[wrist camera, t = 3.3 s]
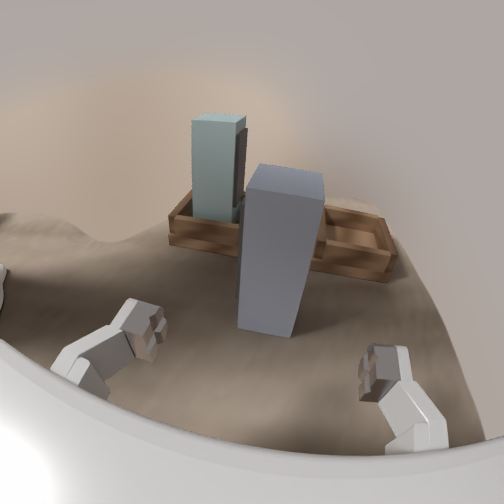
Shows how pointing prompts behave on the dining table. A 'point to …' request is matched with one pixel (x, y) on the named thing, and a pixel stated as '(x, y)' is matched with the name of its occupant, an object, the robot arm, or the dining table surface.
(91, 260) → the dining table surface
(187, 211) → the wooden double tray
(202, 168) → the teal rectangular block
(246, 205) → the block
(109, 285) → the dining table surface
